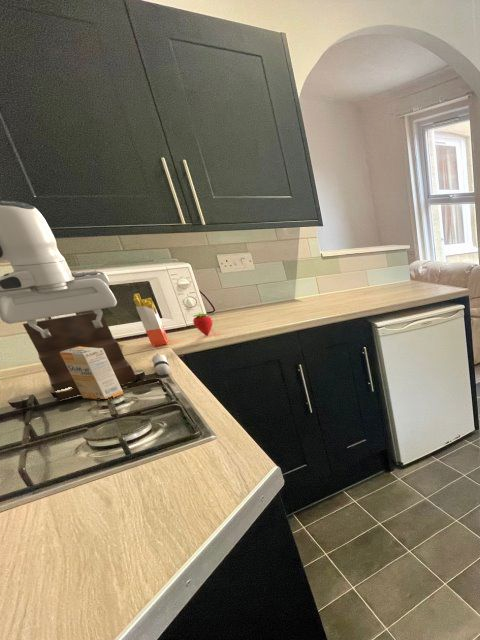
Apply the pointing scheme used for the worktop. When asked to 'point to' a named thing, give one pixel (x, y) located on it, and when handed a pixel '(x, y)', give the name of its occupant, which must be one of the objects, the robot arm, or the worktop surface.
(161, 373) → the torpedo
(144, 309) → the french fries container
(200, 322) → the strawberry
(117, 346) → the step shelf
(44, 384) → the worktop surface
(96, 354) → the supplement box
